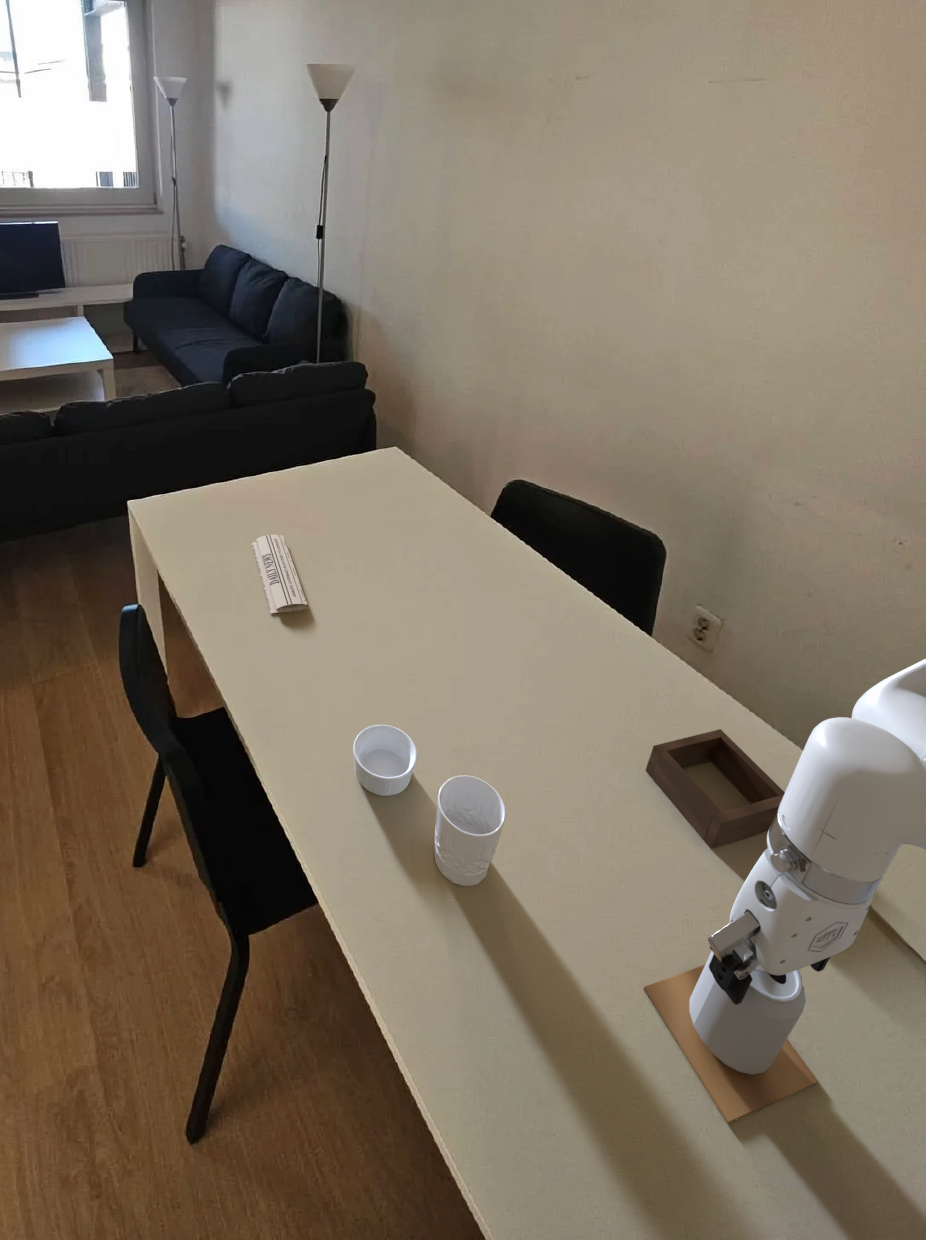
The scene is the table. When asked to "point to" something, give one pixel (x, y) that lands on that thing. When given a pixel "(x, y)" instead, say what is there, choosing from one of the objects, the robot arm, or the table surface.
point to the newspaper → (278, 575)
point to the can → (747, 1016)
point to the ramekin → (384, 759)
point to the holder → (695, 803)
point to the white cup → (467, 829)
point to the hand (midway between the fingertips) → (765, 969)
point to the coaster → (721, 1081)
